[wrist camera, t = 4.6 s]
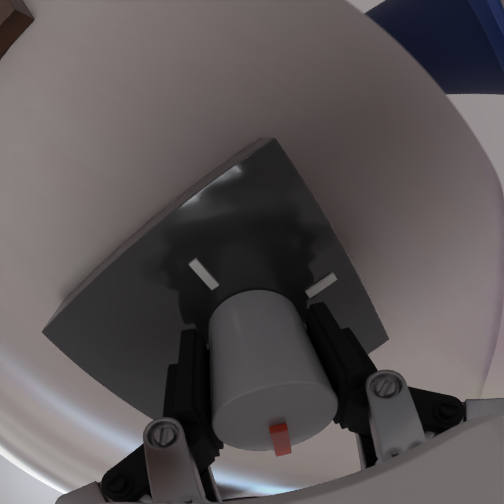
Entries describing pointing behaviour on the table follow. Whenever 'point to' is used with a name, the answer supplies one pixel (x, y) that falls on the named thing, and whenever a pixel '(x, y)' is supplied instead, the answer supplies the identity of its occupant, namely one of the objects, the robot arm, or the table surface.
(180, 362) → the robot arm
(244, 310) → the knob
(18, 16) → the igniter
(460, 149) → the table surface
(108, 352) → the dark grey dial base
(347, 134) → the table surface
